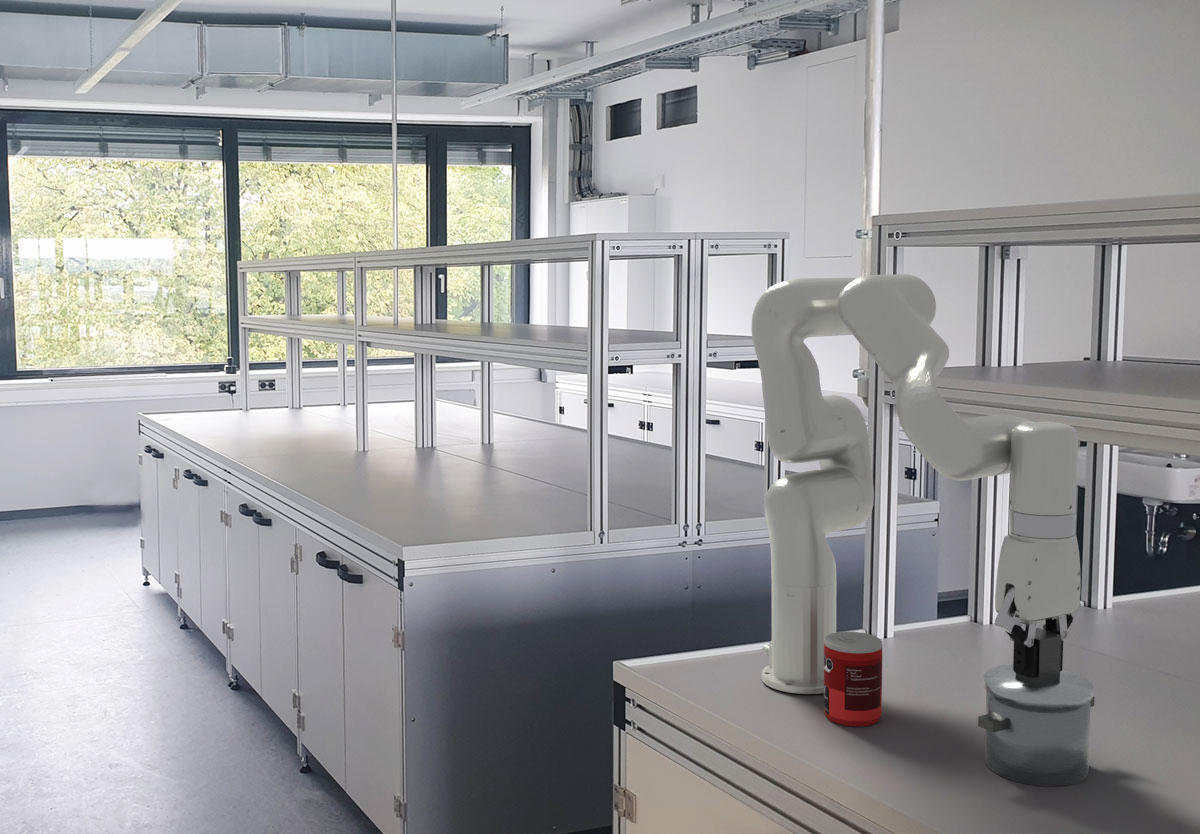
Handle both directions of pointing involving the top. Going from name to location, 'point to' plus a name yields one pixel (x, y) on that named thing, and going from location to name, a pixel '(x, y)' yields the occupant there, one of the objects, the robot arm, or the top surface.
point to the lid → (1040, 679)
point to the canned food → (853, 678)
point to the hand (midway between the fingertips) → (1037, 670)
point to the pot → (1037, 742)
